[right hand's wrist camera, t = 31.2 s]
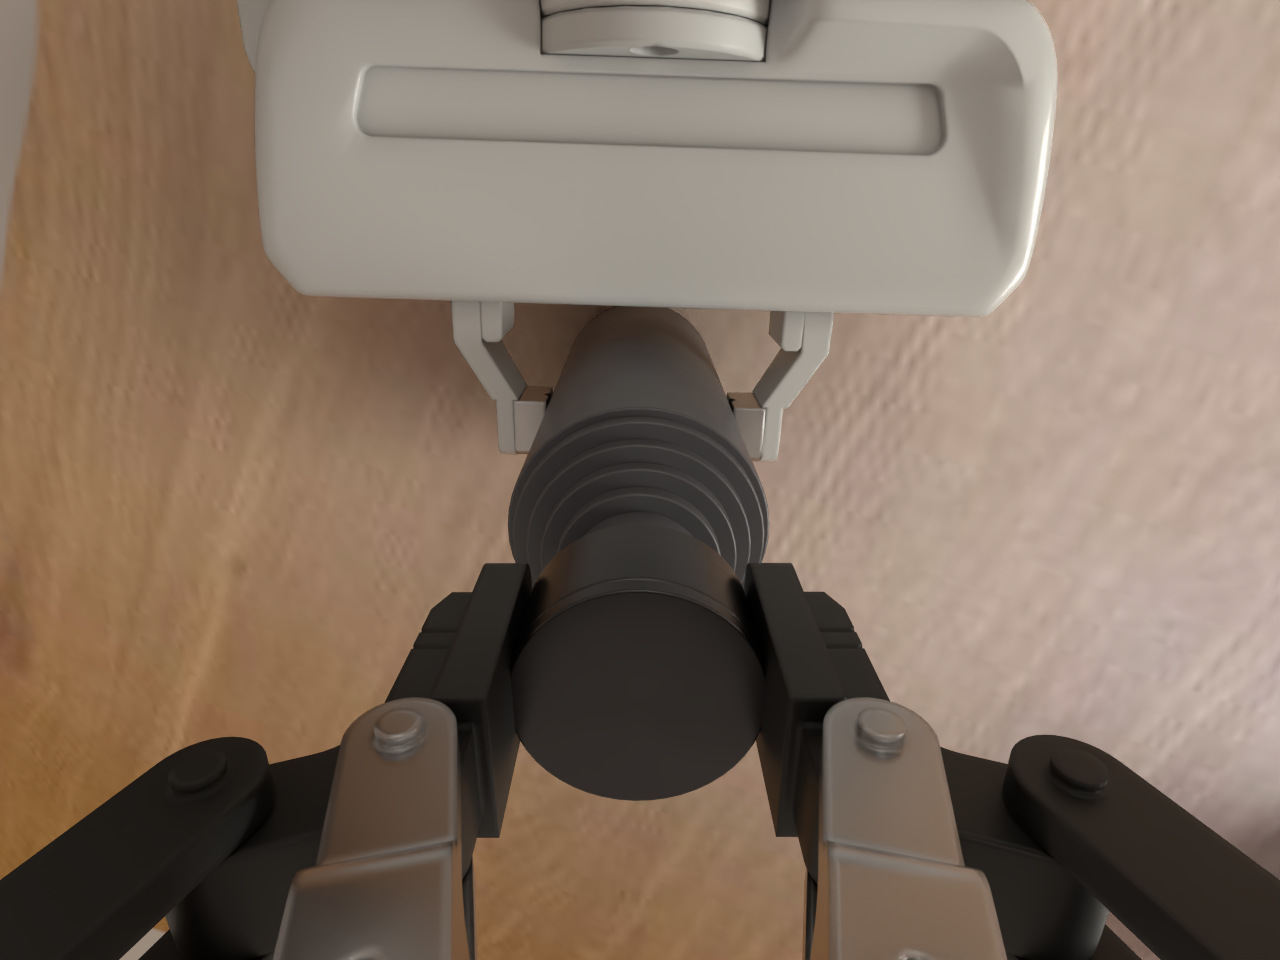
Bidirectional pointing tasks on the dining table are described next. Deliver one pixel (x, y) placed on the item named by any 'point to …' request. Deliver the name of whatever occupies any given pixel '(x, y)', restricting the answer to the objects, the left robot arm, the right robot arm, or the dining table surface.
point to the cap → (637, 665)
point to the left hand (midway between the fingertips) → (639, 452)
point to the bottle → (638, 446)
